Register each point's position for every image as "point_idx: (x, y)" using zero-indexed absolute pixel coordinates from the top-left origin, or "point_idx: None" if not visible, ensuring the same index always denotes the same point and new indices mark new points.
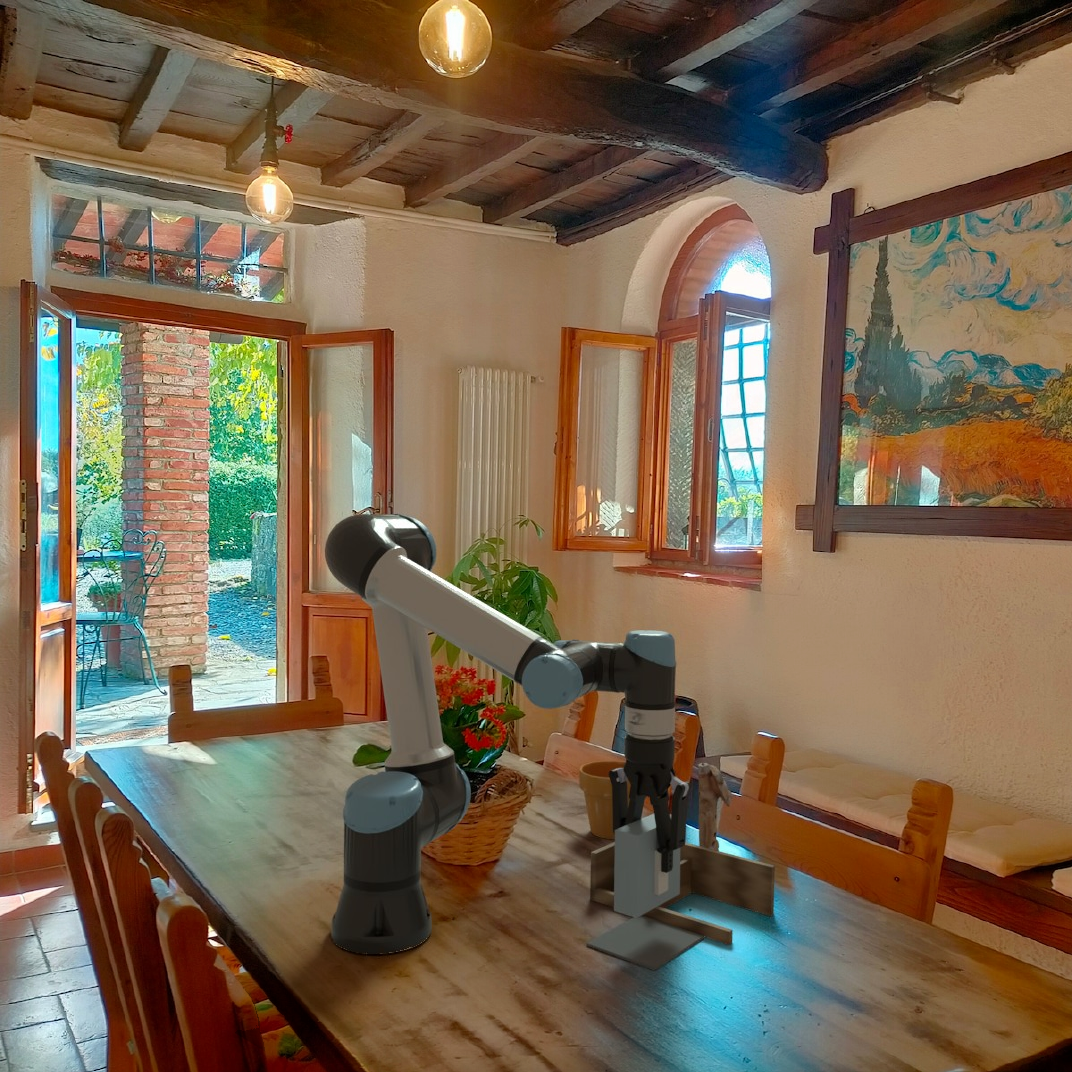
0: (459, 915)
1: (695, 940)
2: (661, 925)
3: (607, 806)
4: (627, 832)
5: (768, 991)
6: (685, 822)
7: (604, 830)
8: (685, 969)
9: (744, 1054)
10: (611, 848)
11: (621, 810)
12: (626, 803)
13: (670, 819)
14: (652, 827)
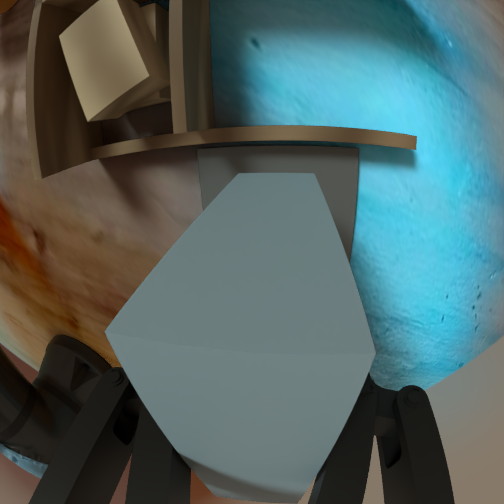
0: (71, 311)
1: (355, 178)
2: (264, 160)
3: None
4: (257, 501)
5: (480, 255)
6: (445, 476)
7: (6, 4)
8: (379, 273)
9: (460, 361)
10: (37, 114)
11: (113, 470)
12: (84, 473)
13: (364, 492)
14: (297, 485)
